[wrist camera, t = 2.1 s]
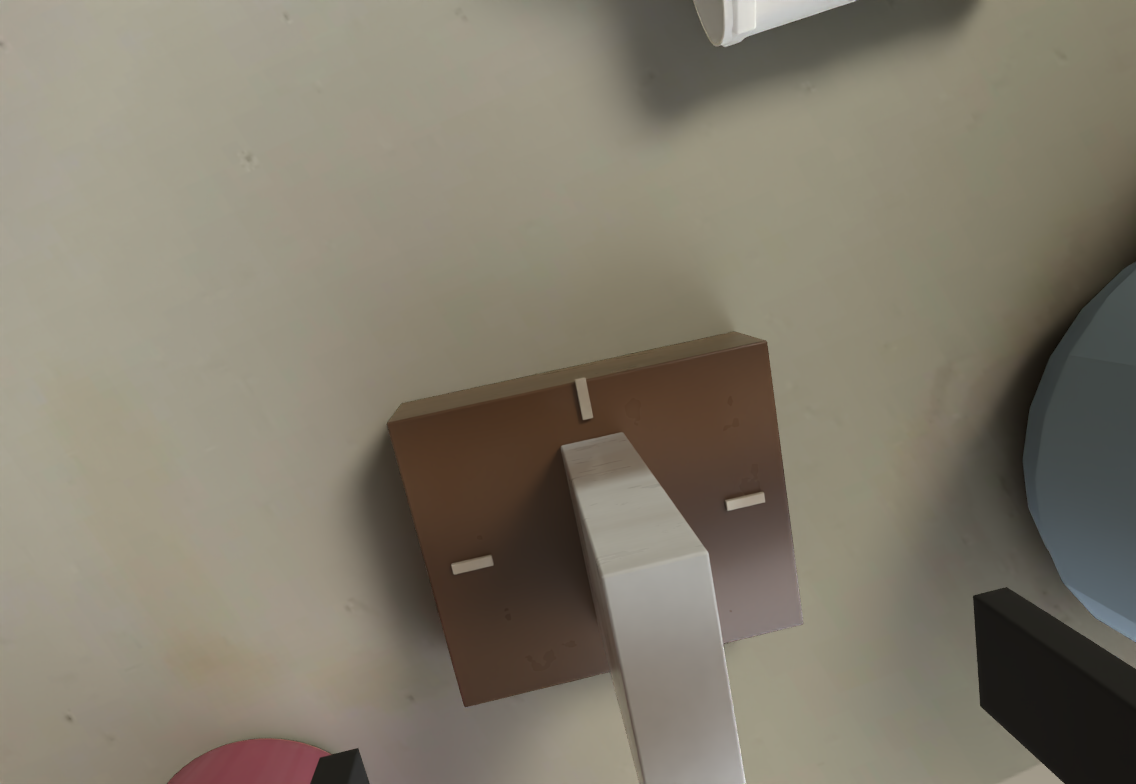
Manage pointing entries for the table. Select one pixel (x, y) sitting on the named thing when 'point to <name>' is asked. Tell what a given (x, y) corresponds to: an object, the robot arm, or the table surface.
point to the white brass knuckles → (754, 16)
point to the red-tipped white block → (654, 617)
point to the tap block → (545, 511)
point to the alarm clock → (1090, 455)
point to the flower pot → (253, 763)
